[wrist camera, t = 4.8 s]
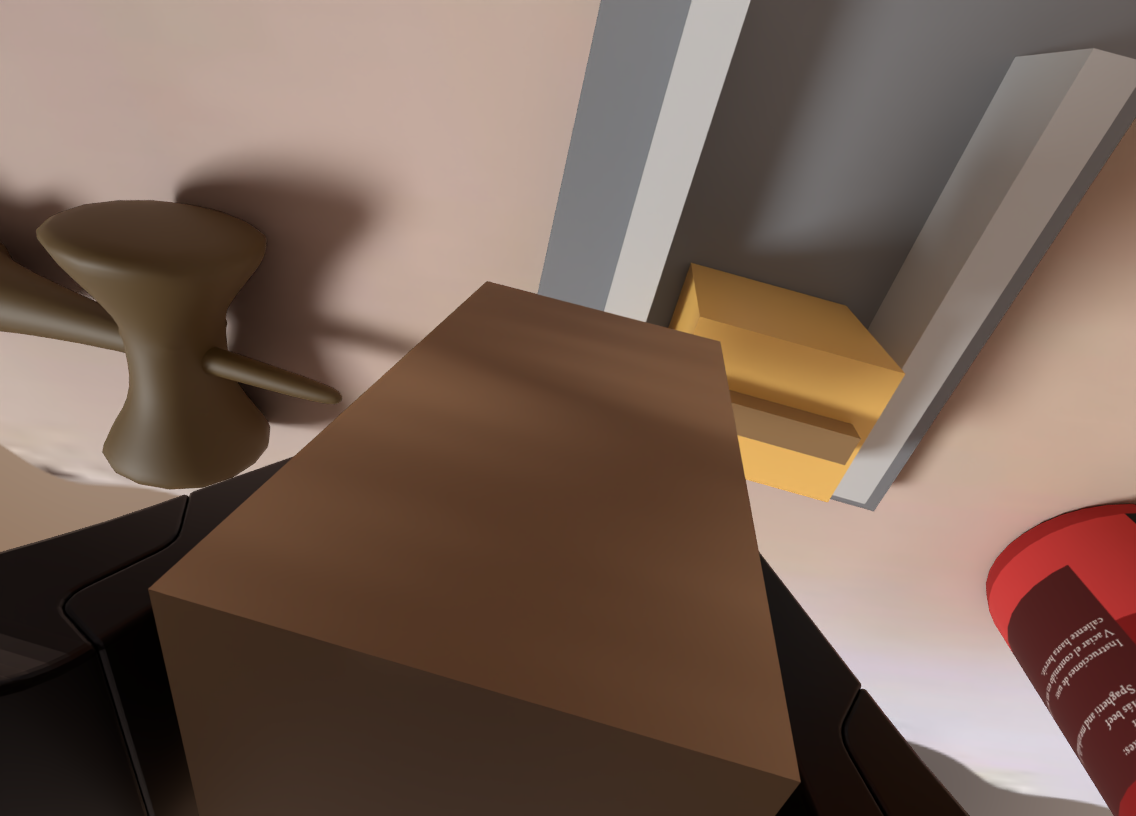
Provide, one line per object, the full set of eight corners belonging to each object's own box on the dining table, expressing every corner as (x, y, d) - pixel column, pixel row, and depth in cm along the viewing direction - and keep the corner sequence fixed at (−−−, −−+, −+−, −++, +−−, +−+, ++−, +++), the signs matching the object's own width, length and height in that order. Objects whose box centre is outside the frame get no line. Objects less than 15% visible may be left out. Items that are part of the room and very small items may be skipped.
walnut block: (460, 470, 11) (214, 881, 5) (486, 280, 10) (149, 588, 3) (653, 523, 11) (623, 1014, 5) (720, 341, 9) (801, 782, 3)
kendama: (-114, 104, 22) (386, 250, 21) (-32, 331, 27) (373, 455, 26) (-363, 111, 16) (288, 305, 16) (-203, 391, 21) (296, 548, 21)
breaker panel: (521, 391, 23) (491, 452, 19) (689, -370, 13) (700, -575, 9) (861, 487, 23) (903, 569, 19) (1302, -209, 13) (1590, -346, 9)
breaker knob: (652, 373, 20) (648, 466, 15) (690, 262, 18) (701, 327, 13) (791, 412, 20) (834, 519, 15) (846, 305, 18) (916, 387, 13)
